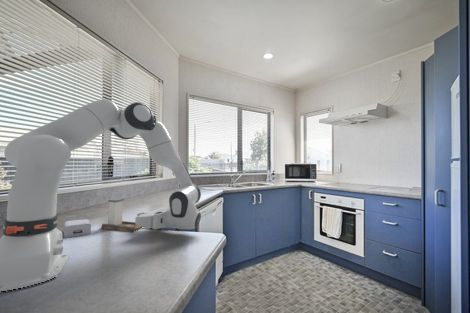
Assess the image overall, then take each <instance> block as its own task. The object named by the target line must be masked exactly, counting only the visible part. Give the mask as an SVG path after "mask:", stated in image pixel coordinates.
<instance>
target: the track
mask: <svg viewBox="0 0 470 313" xmlns="http://www.w3.org/2000/svg"><path fill="white" fill-rule="evenodd" d="M140 228H142V227H141V226H137V225H136V224H135V221H124V220H122V223H121V224H118V225H112V224H108V223H101V229H103V230H112V231H120V232H128V231H130V232H129V233H134V231H135V232H137V231H139V230H138V229H140ZM142 229H143V228H142ZM136 230H137V231H136ZM140 230H141V229H140Z"/></svg>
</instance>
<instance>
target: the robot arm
mask: <svg viewBox="0 0 470 313" xmlns="http://www.w3.org/2000/svg"><path fill="white" fill-rule="evenodd" d="M108 130H109V131H110V132H111V133H113V134H114V135H115V136H116V137H117V138H119V139H121V140H131V139H134V138H136V137H137V136H139V137H140V138H141V139H142V140H143V141H144V143H145V146H146V148H147V152H148V154H149V157H150V158H151V160H152V161H153V162H154V163H155V164H156V165H158V166H162V167H165V168H167V169H169V170H170V171H172V173H173V174H174V176H175V179H176V180H177V183H178V184H179V189H177V190H175V191H174V192H172V193H171V195H170V196H169V199H168V204H169V205H168V206H169V207H165V206H164V207H158V208H156V209H153V210H151V211H148V212H147V211H146V212H139V213H137V214H136V216H135V218H134V219H135V220H134V222H135V224H136V225H137V226H141V227H144V228H147V229H148V228H151V229H152V230H160V229H163V228H164V229H166V228H168V229H172V228H173V229H174V228H176V229H179V230H193V229H195V230H196V228H197V227H198V226H199V224H200V222H201V218H202V214H201V211H200V210H198V208H197V207H196V204H197V203H199V201H200V200H201V196H202V192H201V189H200V188H199V186H198V185H197V184H196V183H195V182H194V180H193V179H192V177H191V175H190V173H189V171H188V168H187V167H186V165H185V163H184V162H183V159H182V158H181V156H180V155H179V153H178V151H177V149H176V147H175V145H174V142H173V140H172V137H171V135H170V133H169V131H168V130H167V128H166V126H165V125H164V124H163V123H162V122H161V121H157V118H156V116H155V115H154V113H153V111H152V109H151V108H150V107H149V106H147V104H145V103H143V102H138V101H137V102H133V103H130V104H129V105H127V106H126V107H125V108H123V109H122V108H120V107H118V105H117V104H116V103H115V102H113V101H112V100H110V99H106V98H103V99H98V100H95V101H92V102H88V103H86V104H85V105H82V106H80V107H78V108H77V109H75V110H73V111H71V112H69V113H67V114H65V115H63V116H61V117H60V118H57V119H55V120H53V121H51V122H48V123H46V124H44V125H42V126H39V127H37V128H35V129H32V130H30V131H28V132H26V133H24V134H22V135H20V136H18V137H16V138H14V139H13V140H10V142H9V143H7V145H6V146H5V148H4V157H5V160H6V161H7V162H8V164H9V165H11V166H12V167H14V168H15V169H16V170H15V175H14V176H13V177H14V178H13V180H12V184H11V187H10V189H9V191H8V193H7V196H8V197H7V208H6V209H7V210H6V219H4V221H3V222H4V223H3V225H2V234H3V235H2V236H1V237H0V291H6V292H8V291H7V290H12V291H14V290H13V289H16V290H19V289H18V288H21V289H24V288H23V287H25V288H28V287H27V286H29V287H31V286H30V285H33V286H35V285H34V284H37V283H40V282H43V281H46V280H48V279H52V278H54V277H56V276H58V277H59V275H60V274H59V273H61V271H63V268H64V267H65V265H66V263H67V261H68V259H69V258H70V256H69V255H70V254H69V253H65V252H63V250H64V246H63V243H64V239H63V232H62V231H61V230H59V229H58V228H57V226H58V222H59V221H58V220H59V219H58V214H57V206H58V191H59V187H60V183H61V180H62V177H63V174H64V170H65V167H66V166H67V165H68V163H69V162H70V160H71V156H72V152H73V151H74V150H77V149H79V148H82V147H84V146H86V145H87V144H88V143H90V142H92V141H93V140H94V139H96V138H98V137H99V136H100V135H102V134H103V133H105V132H106V131H108ZM58 274H59V275H58ZM56 278H57V277H56ZM54 279H55V278H54ZM52 280H53V279H52ZM40 284H41V283H40ZM37 285H38V284H37Z"/></svg>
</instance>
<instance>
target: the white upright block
mask: <svg viewBox="0 0 470 313" xmlns="http://www.w3.org/2000/svg"><path fill="white" fill-rule="evenodd" d="M124 201H125V199H124V198H122V197H121V198H120V197H116V198H110V199H108V212H107V216H108V217H107V224H112V225H118V224H121V223H122V221H123V210H124V209H123V207H124V206H123V205H124Z"/></svg>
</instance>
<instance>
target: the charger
mask: <svg viewBox="0 0 470 313" xmlns="http://www.w3.org/2000/svg"><path fill="white" fill-rule="evenodd" d="M91 229H92V224H91V222H90V220H89V219H86V218H85V219H74V220H67V221H65V222H63V232H62V233H63V237H64V238H71V237H77V236H78V237H79V236H85V235H90V234H91V232H92V230H91Z"/></svg>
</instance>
